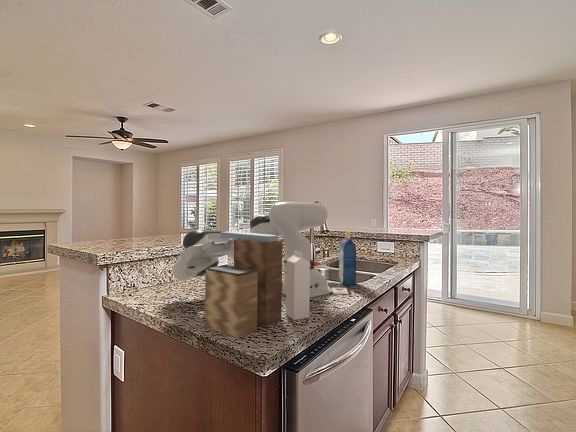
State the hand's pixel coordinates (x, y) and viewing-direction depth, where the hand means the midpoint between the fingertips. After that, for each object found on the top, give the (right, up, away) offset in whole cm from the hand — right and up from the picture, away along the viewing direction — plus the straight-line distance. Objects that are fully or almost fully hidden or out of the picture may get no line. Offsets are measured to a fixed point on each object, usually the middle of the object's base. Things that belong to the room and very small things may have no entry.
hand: (223, 241), depth 112 cm
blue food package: (+52, -24, +42) cm, 71 cm away
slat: (+10, +1, -6) cm, 12 cm away
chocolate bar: (+46, -25, +30) cm, 61 cm away
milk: (+26, -25, -5) cm, 37 cm away
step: (+6, -25, -16) cm, 30 cm away
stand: (+13, -25, -8) cm, 29 cm away
